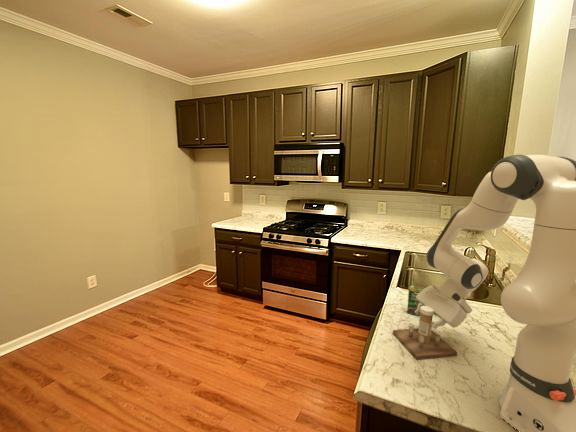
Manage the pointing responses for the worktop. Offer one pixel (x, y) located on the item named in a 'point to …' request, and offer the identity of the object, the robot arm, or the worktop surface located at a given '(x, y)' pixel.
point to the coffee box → (413, 299)
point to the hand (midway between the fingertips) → (424, 320)
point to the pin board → (422, 350)
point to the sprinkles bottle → (425, 323)
